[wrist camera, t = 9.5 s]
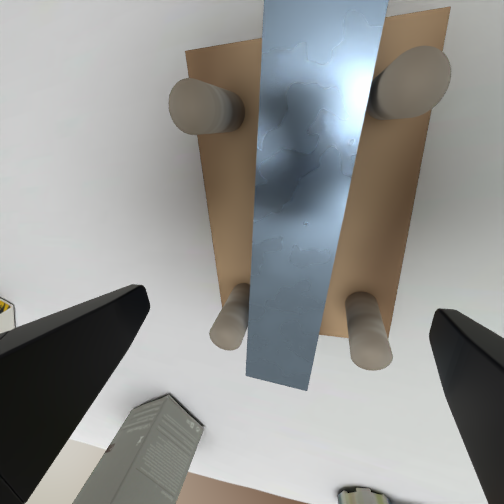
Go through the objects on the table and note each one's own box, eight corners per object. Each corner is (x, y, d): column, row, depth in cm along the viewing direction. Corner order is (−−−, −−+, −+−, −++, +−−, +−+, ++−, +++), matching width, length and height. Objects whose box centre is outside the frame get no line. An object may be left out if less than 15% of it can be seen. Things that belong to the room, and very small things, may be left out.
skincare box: (169, 391, 30) (35, 621, 16) (210, 431, 31) (119, 674, 17) (129, 408, 34) (-8, 606, 20) (167, 442, 35) (64, 650, 21)
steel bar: (310, 344, 20) (307, 391, 17) (258, 333, 21) (245, 375, 17) (377, -5, 11) (401, -64, 8) (283, -1, 12) (266, -53, 8)
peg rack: (437, 19, 12) (523, -62, 7) (383, 327, 20) (404, 402, 14) (197, 57, 15) (128, 21, 10) (230, 312, 23) (201, 368, 17)
